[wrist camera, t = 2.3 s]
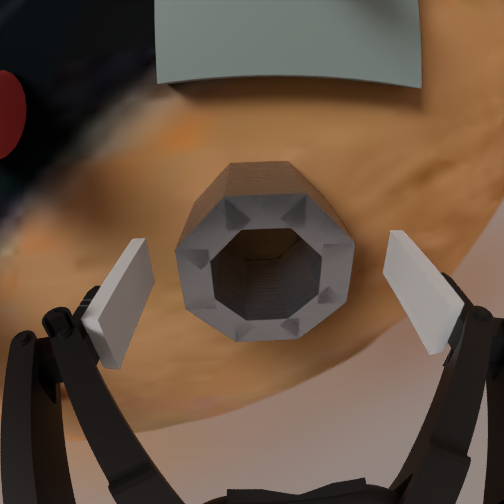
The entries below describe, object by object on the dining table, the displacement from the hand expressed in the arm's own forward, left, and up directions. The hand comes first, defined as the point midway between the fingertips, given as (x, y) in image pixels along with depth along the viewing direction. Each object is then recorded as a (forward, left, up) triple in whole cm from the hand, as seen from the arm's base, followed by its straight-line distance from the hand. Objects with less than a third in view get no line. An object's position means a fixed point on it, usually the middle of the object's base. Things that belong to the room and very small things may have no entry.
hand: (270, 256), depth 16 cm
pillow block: (+2, +18, -4) cm, 19 cm away
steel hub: (0, 0, -4) cm, 4 cm away
